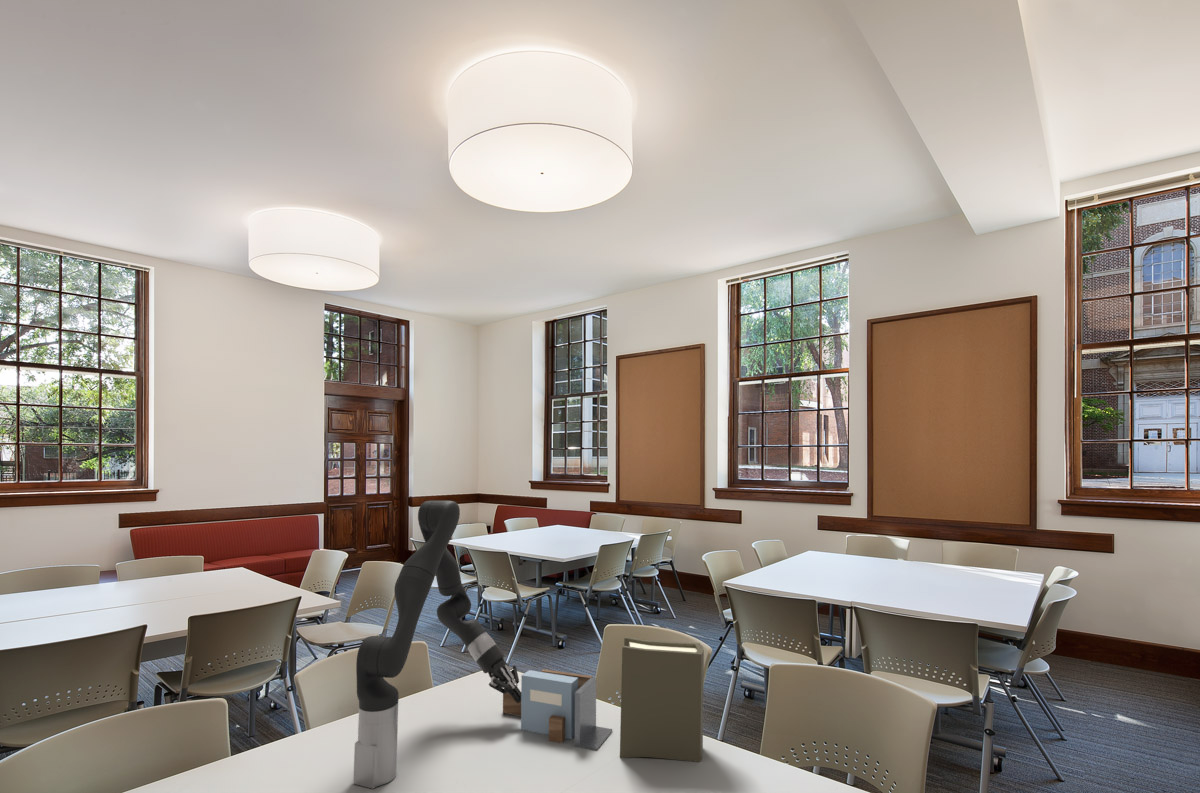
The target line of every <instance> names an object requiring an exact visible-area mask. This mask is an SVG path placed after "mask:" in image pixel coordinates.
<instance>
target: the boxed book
mask: <svg viewBox="0 0 1200 793" xmlns="http://www.w3.org/2000/svg"><path fill="white" fill-rule="evenodd" d="M520 682H521V690H520V692H521V716H520V730H523V731H529V732H532V733H537V734H538V733H539V734H542V735H543V734H544V735H548V736H549V717H550V716H551V715H556V716H562V717H565V739H568V740H569V739H570V740H572V739H573V738H575V692H576V691H577V690H578V678H576V677H570V676H563V675H557V674H550V673H544V672H541V671H537V670H531V669H529V670H527V671H526V672H524V673H523V674H521V680H520Z"/></svg>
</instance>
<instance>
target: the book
mask: <svg viewBox="0 0 1200 793" xmlns="http://www.w3.org/2000/svg"><path fill="white" fill-rule="evenodd" d="M623 641H624V642H623V643H624V644H623V645H622V647H621V650H622V651H621V683H620V684H621V686H620V687H621V688H620V689H621V691H620V695H621V697H620V726H619V727H620V732H619V733H620V734H619V739H620V740H619V741H620V742H619V758H620V759H623V758H654V759H655V758H656V759H664V760H665V759H667V760H677V761H678V760H679V761H687V762H695V763H697V762H698V763H701V762H702V759H703V756H704V755H703V754H704V752H703V751H704V749H703V747H704V746H703V745H704V744H703V743H704V734H703V733H704V678H705V677H704V673H705V672H704V670H705V669H704V665H705V659H704V658H705V657H704V656H705V652H704V651H705V650H704V646H703V645H702V644H701V642H699V643H698V642H682V641H679V642H678V641H662V640H649V639H648V640H646V639H641V638H636V637H630V636H624V640H623Z"/></svg>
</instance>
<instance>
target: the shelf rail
mask: <svg viewBox="0 0 1200 793" xmlns="http://www.w3.org/2000/svg"><path fill="white" fill-rule="evenodd" d="M540 672H544V673H550V674H557V675H563V676H570V677H576V678H578V689H579V688H580V687H581V686H583V685H584V684H585V683H586V682H587V681H588V680H589V679H590V678H591V677H592V678H594V677H593V675H587V674H586V675H585V674H578V673H572V672H565V671H559V670H553V669H546V668H543V669H541V671H540ZM502 713H503V714H507V715H508V714H509V715H512V716H519V717H521V701H520V702H519V703H516V701H515V700H514V699H513V698H512V696H511V695H510V694H508V693H505V694H503V693H502ZM565 740H566V738H565V717H562V716H556V715H551V716H550V717H549V735H548V741H550V742H556V743H559V744H560V743H561V744H562V743H564V742H565Z"/></svg>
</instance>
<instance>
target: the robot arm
mask: <svg viewBox="0 0 1200 793" xmlns="http://www.w3.org/2000/svg"><path fill="white" fill-rule="evenodd" d="M460 510H461V509H460V506H459V504H458V503H457V502H456V501H453V500H426V501H423V502H422V503H421V505H420V506H419V508H418V512H417V521H418V526H419V529H420V531H421V534H422V537H423V540H424V544H423V545H422V546H420V547H419V548H418V549H417V550H416V551H415V552H414V553H413V554H411V555H410V557H409V558H408V559H407V560H406V561H405V562H404V564H403V565H402V567H401V569H400V572H399V573H398V577H397V579H396V580H395V583H394V584H395V585H394V589H393V590H394V591H393V592H394V597H395V603H396V608H397V612H398V613H397V614H398V619H397V624H396V626H395V627H396V628H395V630H394V633H393V635H392V636H380V635H379V636H378V635H370V636H367V637H365V639H363V640H362V641H361V643H360V645H359V647H358V651H357V655H356V664H355V665H356V666H355V667H356V669H355V671H356V696H357V700H358V723H357V724H358V728H357V729H358V730H357V741H355V743H354V754H353V755H354V757H353V758H354V759H353V782H352V783H353V784H354V785H356V786H357V785H358V786H360V787H364V788H369V789H375V788H377V787H380V786H383V785H385V784H387V783H390V782H391V781H393V780H394V779H395V778H396V775H397V766H398V763H397V762H398V761H397V759H398V758H397V757H398V727H399V696H400V695H399V691H398V690H399V689H397V688H396V687H395V686H394V685H392V684H391V683H389V682H388V681H387V680H385V678H388V679H389V678H392V679H393V678H395V677H397V676H399V674H400V673H401V672H402V670H403V669H404V668H405V664H406V663H407V662H406V661H407V659H408V655H409V653H410V649H411V646H412V642H413V639H414V635H415V633H416V632H415V631H416V628H417V625H418V622H419V619H420V616H421V615H422V614H421V613H422V611H423V608H424V604H426V600H427V597H428V595H429V593H430V591H431V588H432V585H433V583H434V580H435V579H436V583H437V588H438V592H439V594H440V595H442V596H444V597H450V596H452V597H450V598H448V599H446V600H445V601H443V602H442V603H440V604H439V605H438V606H437V608H436V615H437V619H438V620H439V622H440V623H441V624H442V625H443V626H444V627H446V628H447V629H448V630H450V631H451V632H452V633H453V634H454V635H456V636H457V637H459V639H460V640H461V641H462V643H463V644H464V646H465V648H467V650H468V652H469V654H470V656H471V657H472V659H474V661H475V663H476V664H477V665H478V667H479V668H480V669H481V671H482V672H483V673H484V674H488V677H490V682H489V683H488V686H489V687H490V688H492V689H494V690H496V691H497V692H499V693H501V694H502V695H503V694H505V693H508V694H510V695H511V696H512V698H513V699H514V700H515V701H516V703H519V702H520V701H521V690H520V689H519V688H518V684H519V683H520V679H519V675H518V669H517V666H516V665H512V666H511V665H510V666H509V664H508V663H507V662H506V661H505V659H504V658H505V654H504V652H503V651H502V650H501V648H500V647H499V645H498V644H497V643H496V642H495V641H494V639H493V638H492V637H491V635H489V634H488V633H487V631H486V630H485V629H484V627H483V626H482V624H481V623H480V621H478V620H477V619H475V618H473V619H469V620H466V621H465V620H462V618H464V617H465V616H467V615H469V613H470V612H471V609H472V602H471V599H470V596H469V595H468V594H467V592H466V590H465V588H464V585H463V583H462V578H461V573H460V568H459V564H458V562H457V560H456V558H455V557H454V555H453V554H452V553H451V552H450V550H449V549H448V548H447V547H448V545H449V543H450V541H451V540H452V537H453V535H454V533H455V531H456V529H457V527H458V523H459V521H460V513H461V512H460Z"/></svg>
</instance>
